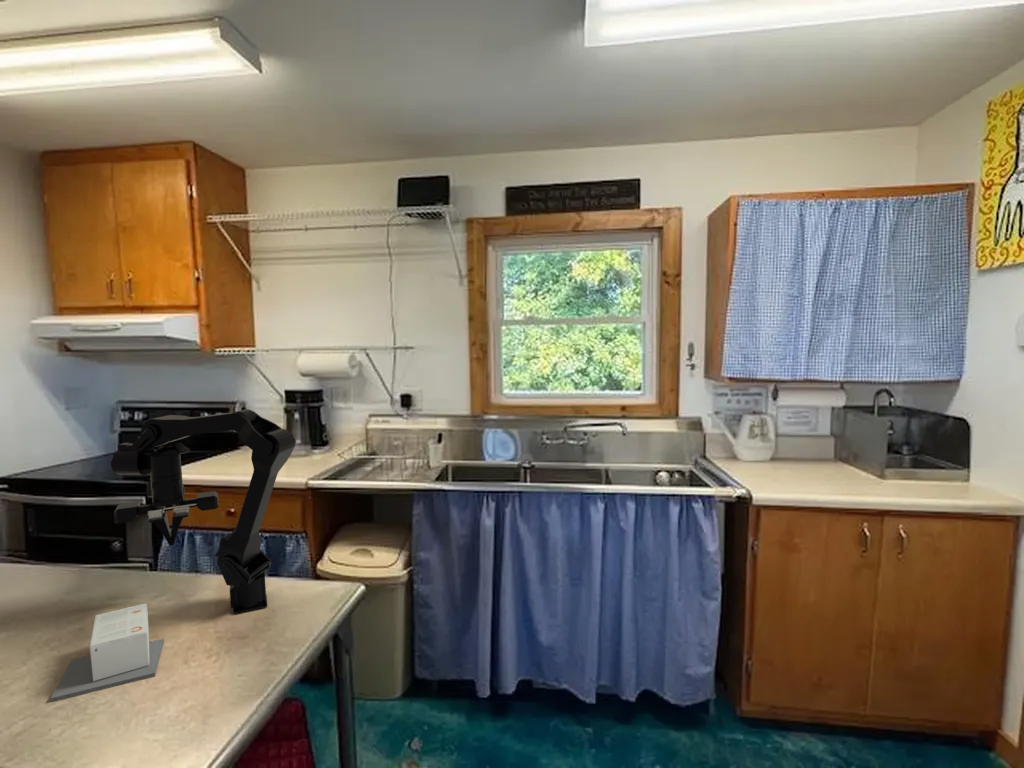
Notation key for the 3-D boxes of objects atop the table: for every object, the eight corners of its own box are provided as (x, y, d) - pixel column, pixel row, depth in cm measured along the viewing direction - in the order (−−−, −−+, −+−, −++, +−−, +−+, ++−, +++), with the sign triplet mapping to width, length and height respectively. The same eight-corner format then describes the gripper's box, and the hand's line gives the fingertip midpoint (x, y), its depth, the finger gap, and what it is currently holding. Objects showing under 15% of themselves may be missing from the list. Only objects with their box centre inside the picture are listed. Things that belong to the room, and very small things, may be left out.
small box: (97, 647, 101) (91, 683, 90) (94, 614, 100) (88, 646, 89) (149, 633, 105) (150, 666, 94) (147, 602, 105) (147, 631, 94)
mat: (163, 641, 103) (163, 638, 103) (154, 676, 93) (154, 672, 92) (71, 662, 97) (71, 659, 97) (50, 701, 86) (50, 698, 86)
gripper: (215, 461, 128) (220, 526, 129) (119, 472, 119) (125, 541, 120) (215, 471, 118) (220, 541, 119) (110, 484, 109) (117, 559, 111)
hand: (171, 545), depth 118 cm, fingers closed
